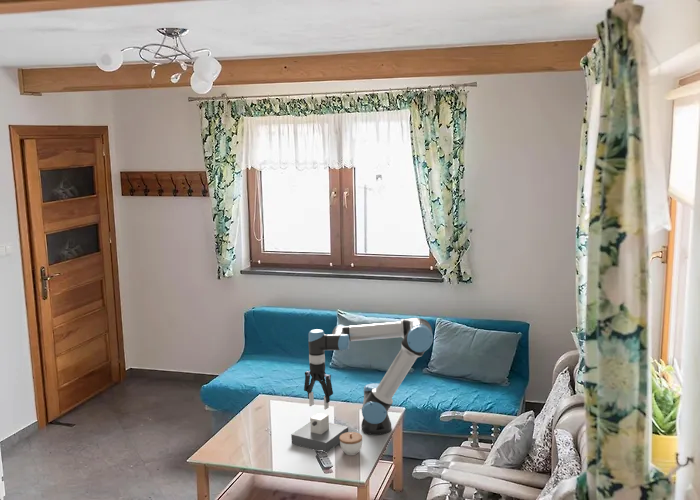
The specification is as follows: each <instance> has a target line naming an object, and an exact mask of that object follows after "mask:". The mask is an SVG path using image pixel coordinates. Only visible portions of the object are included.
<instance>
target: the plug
mask: <svg viewBox="0 0 700 500" xmlns="http://www.w3.org/2000/svg"><path fill="white" fill-rule="evenodd" d="M329 416H330V415H328V414H325V413H320V412H317V413H315V414H314V415H312V416H311V417H310V421H309V422H310V425H311V432H313V433H317V434H323V433H324V432H325V431H327V430H328V429H329V423H330V421H329Z"/></svg>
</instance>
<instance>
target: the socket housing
mask: <svg viewBox="0 0 700 500" xmlns="http://www.w3.org/2000/svg"><path fill="white" fill-rule="evenodd" d="M347 432H349V426H346V425H343V424H338V423H333V422H329V429H328V430H327V431H325V432H324V433H323V434H317V433H313V432H311V425H310V421H309V422H308V423H306V424H305V425H304V426H302V427H300V428H299V429H297V430H296V431H295V432H293V433H292V434H290V436H291V445H293V446H297V447H298V446H299V447H302V448H305V449H309V450H310V449H311V450H313V449H314V451H317V450H323V451H325V452H327V453H328V452H329V451H332V449H334V448H335V447H336V446H337V445H340V440H339V437H340V435H342V434H343V433H347ZM325 452H324V453H325Z"/></svg>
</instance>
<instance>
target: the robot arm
mask: <svg viewBox="0 0 700 500" xmlns="http://www.w3.org/2000/svg"><path fill="white" fill-rule="evenodd" d="M394 338H395V339H396V338H402V340H401V342H400V345H401V348H400V350H399V352H398V353H397V355H396V356H395V358H394V359H393V361H392V363H391V365H390V366H389V367H388V369H387V370H386V373H385V374H384V376H383V377H382V379H381V381H380V382H379V383H376V382H375V383H374V382H373V383H369V384H365V385H364V387H363V402H362V407H361V414H362V421H361V427H360V428H361V431H362V432H363V433H364V434H368V435H371V436H372V435H373V436H375V435H376V436H380V435H385V434H388V433H389V432H391V431H392V422H391V420H390V419H391V418H390V416H389V410H390V408H391V406H392V404H393V403H394V401H393V397H394V395H395V394H396V393H397V391H398V389H399V387H400V386H401V384H402V383H403V382H404V379H405V378H406V376H407V375H408V373H409V372H410V370H411V368H412V367H413V365H414V363H415V362H416V361H417V359H418V358H420V357H423V356H424V353H425V352H426V351H427V350H429V349H430V347H431V346H432V345H433V341H434V334H433V328H432V326H431V323H429V322H428V321H427V319H424V318H419V317H413V318H402V319H401V320H400V321H394V322H393V321H391V322H381V323H369V324H357V325H344V324H337V325H336V326H334V328H333V329H332V331H331V333H330V334H328V333H327V334H325V331H324V330H323V329H318V328H316V329H315V328H314V329H311V330H309V332H308V360H309V370H306V371H305V372H304V386H303V390H304V392H306V393H307V399H308V404H309V407H312V406H314V404H315V399H314V391H313V389H314V386H315V383H316V382H318V383H319V384H320V386H321V388H322V390H323V393H324V396H323V408H324V410H327V409H329V408H330V407H329V404H330V401H331V400H330V399H331V398H330V397H331V396H332V395H334V391H333V386H332V380H331V379H332V375H331V374H327V373H326V356H325V353H326V352H325V351H341V352H342V351H348V350H350V342H357V341H370V340H381V339H394Z"/></svg>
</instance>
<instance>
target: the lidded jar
mask: <svg viewBox="0 0 700 500" xmlns="http://www.w3.org/2000/svg"><path fill="white" fill-rule="evenodd" d="M339 440H340V443H339V445H340V449H341V450H342V452H343V453H344V454H345V455H347V456H355V455H358V453H359V452H360V450H361V449H362V446H363V435H362V434H361V433H359V432H355V431H348V432H347V433H343V434H342V435H340V437H339Z"/></svg>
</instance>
